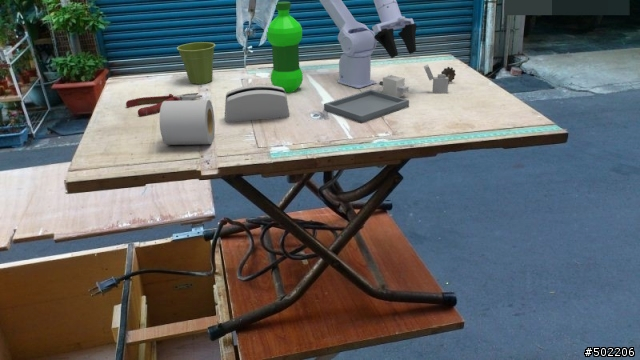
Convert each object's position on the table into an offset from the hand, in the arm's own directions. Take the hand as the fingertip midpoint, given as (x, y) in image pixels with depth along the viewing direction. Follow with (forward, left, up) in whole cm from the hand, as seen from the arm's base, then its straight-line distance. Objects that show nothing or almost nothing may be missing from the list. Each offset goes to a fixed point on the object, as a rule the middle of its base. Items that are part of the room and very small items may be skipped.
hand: (404, 54), depth 146 cm
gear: (+1, +20, -12) cm, 23 cm away
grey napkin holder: (-15, -39, -12) cm, 44 cm away
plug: (-3, 0, -12) cm, 13 cm away
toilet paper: (-12, -60, -12) cm, 63 cm away
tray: (0, -14, -12) cm, 19 cm away
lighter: (+4, +10, -12) cm, 16 cm away
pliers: (-41, -52, -13) cm, 67 cm away
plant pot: (-56, -32, -12) cm, 66 cm away
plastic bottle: (-29, -18, -12) cm, 37 cm away
